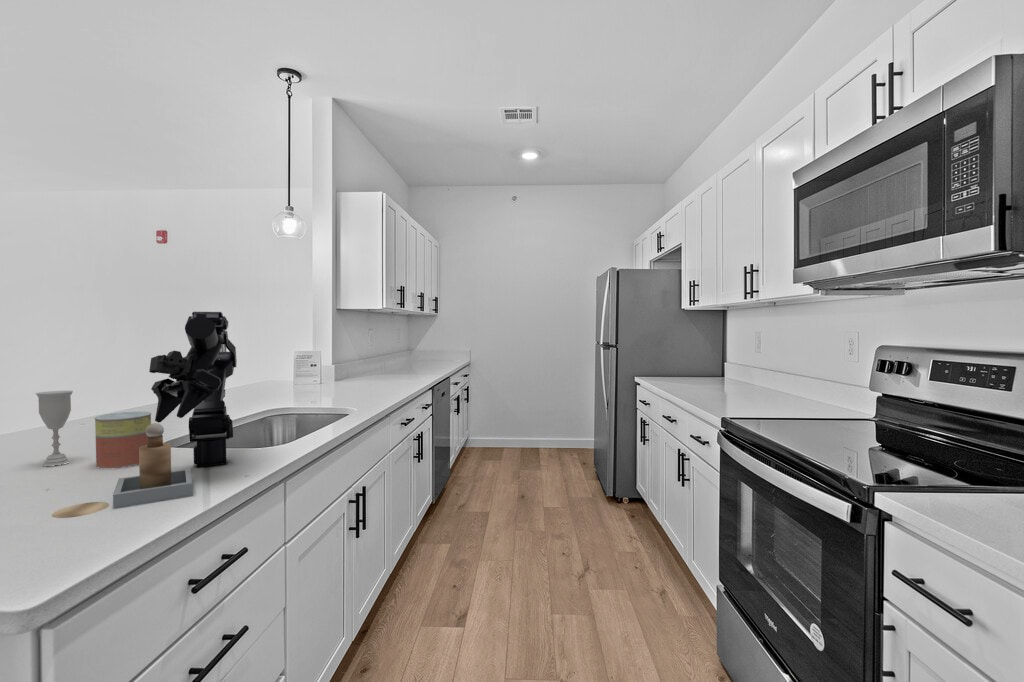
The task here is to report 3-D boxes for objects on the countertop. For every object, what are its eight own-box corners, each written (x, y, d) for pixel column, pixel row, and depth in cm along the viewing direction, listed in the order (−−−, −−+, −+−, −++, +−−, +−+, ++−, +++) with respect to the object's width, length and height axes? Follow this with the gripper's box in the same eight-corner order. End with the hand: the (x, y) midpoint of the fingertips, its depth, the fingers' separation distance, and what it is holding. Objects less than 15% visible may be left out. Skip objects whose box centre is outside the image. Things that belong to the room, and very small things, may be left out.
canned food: (163, 458, 131) (162, 412, 130) (121, 470, 119) (120, 420, 119) (127, 455, 133) (126, 411, 132) (83, 467, 122) (82, 418, 121)
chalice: (81, 461, 127) (79, 391, 126) (49, 469, 120) (47, 394, 120) (63, 459, 129) (61, 390, 129) (30, 466, 123) (28, 393, 122)
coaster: (111, 502, 97) (111, 499, 97) (107, 514, 91) (106, 511, 91) (56, 510, 93) (56, 507, 93) (47, 524, 86) (47, 521, 86)
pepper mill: (169, 486, 105) (167, 419, 104) (173, 492, 101) (172, 423, 100) (138, 492, 101) (136, 423, 101) (142, 498, 97) (140, 426, 97)
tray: (190, 482, 109) (190, 468, 109) (192, 498, 99) (192, 483, 99) (119, 493, 102) (118, 478, 102) (113, 511, 92) (112, 494, 92)
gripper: (146, 348, 116) (109, 409, 108) (189, 332, 107) (152, 397, 99) (191, 371, 124) (160, 429, 116) (235, 358, 115) (204, 420, 107)
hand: (168, 419), depth 109 cm, fingers open, 9 cm apart
